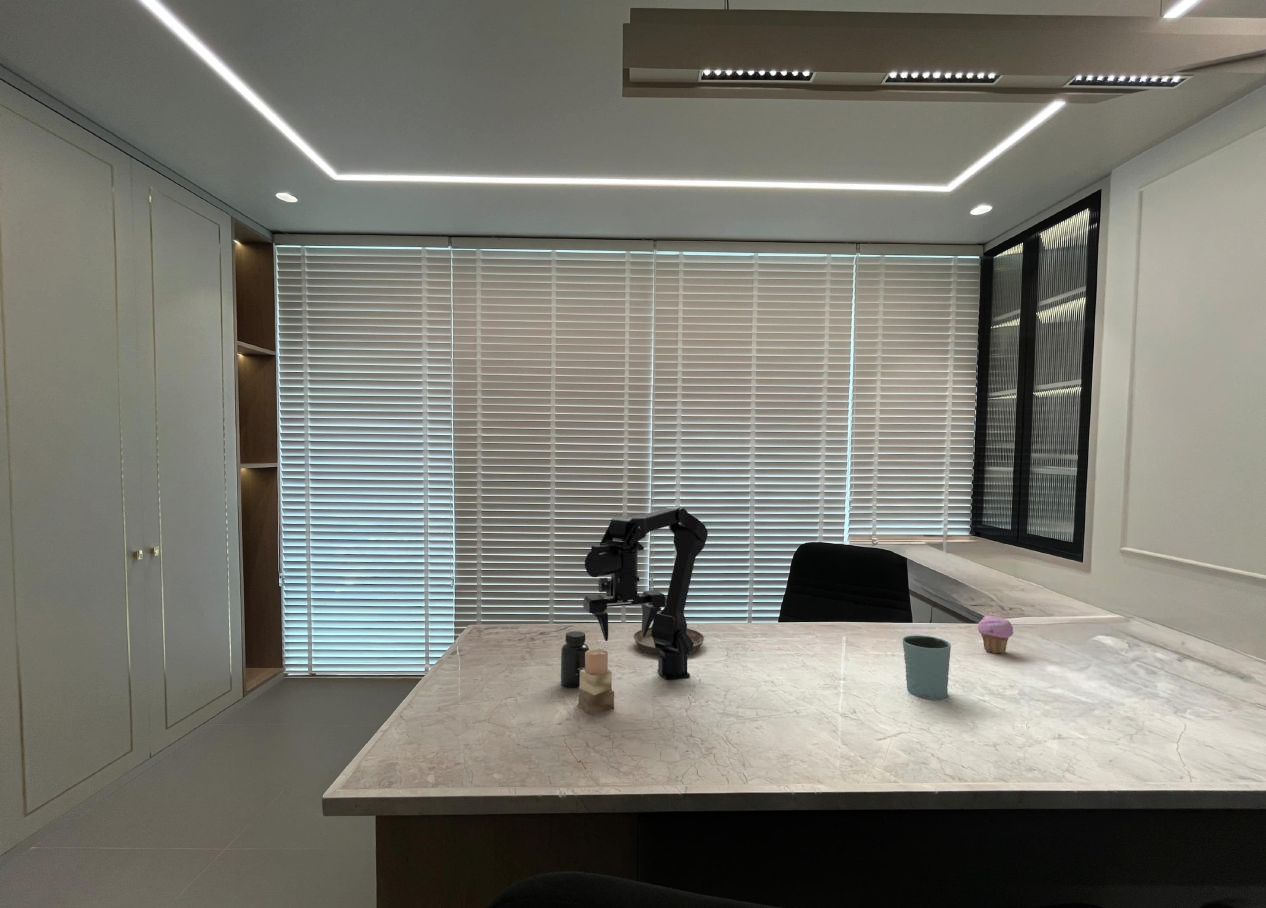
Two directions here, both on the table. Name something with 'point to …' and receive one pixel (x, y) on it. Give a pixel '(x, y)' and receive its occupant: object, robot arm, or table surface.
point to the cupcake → (995, 633)
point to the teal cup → (927, 666)
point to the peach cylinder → (596, 662)
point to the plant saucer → (649, 647)
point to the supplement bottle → (573, 658)
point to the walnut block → (596, 701)
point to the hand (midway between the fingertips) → (625, 638)
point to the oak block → (595, 682)
